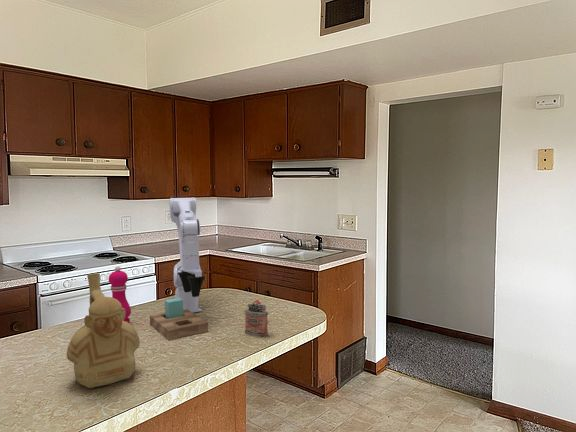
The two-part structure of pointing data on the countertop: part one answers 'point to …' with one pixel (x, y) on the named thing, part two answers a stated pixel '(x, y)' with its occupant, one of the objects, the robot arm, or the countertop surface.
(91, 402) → the countertop surface
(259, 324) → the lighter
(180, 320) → the socket board
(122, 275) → the pepper mill
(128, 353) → the ceramic vessel
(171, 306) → the teal cuboid tower
